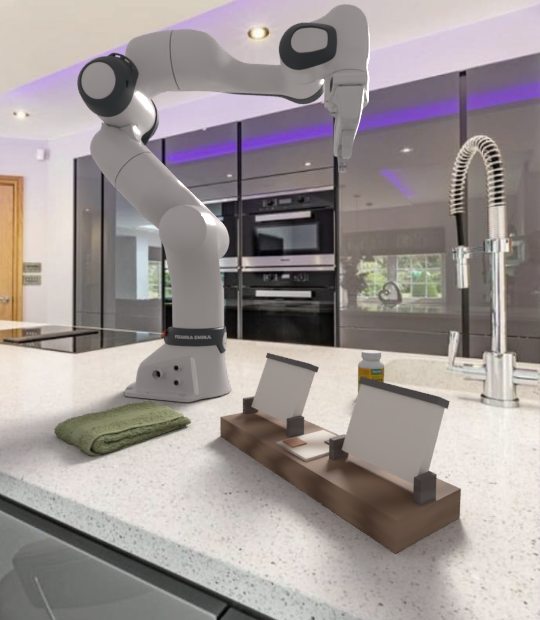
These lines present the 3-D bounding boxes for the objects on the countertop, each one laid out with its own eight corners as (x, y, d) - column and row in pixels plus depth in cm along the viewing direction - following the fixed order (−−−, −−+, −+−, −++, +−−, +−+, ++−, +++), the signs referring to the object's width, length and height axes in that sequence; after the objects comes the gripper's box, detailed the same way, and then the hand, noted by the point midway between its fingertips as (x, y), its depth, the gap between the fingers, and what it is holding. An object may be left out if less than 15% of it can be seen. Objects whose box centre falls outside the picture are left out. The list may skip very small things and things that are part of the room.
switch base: (220, 435, 63) (220, 401, 62) (273, 423, 68) (273, 392, 68) (395, 553, 35) (397, 493, 35) (459, 517, 41) (461, 465, 41)
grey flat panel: (339, 448, 47) (360, 376, 49) (350, 451, 48) (370, 380, 50) (415, 485, 39) (439, 396, 40) (427, 488, 40) (449, 401, 41)
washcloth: (195, 428, 67) (195, 408, 67) (91, 463, 54) (90, 439, 54) (149, 412, 76) (149, 395, 75) (49, 439, 62) (49, 418, 62)
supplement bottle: (369, 392, 89) (370, 348, 89) (389, 397, 85) (390, 352, 84) (352, 395, 86) (352, 350, 86) (371, 401, 82) (372, 354, 81)
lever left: (249, 405, 64) (267, 352, 65) (259, 408, 65) (276, 356, 66) (289, 425, 55) (308, 363, 57) (300, 427, 56) (318, 367, 58)
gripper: (327, 117, 93) (326, 178, 94) (333, 69, 72) (331, 149, 73) (355, 116, 92) (354, 178, 93) (369, 68, 72) (367, 148, 73)
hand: (344, 165), depth 83 cm, fingers open, 8 cm apart
